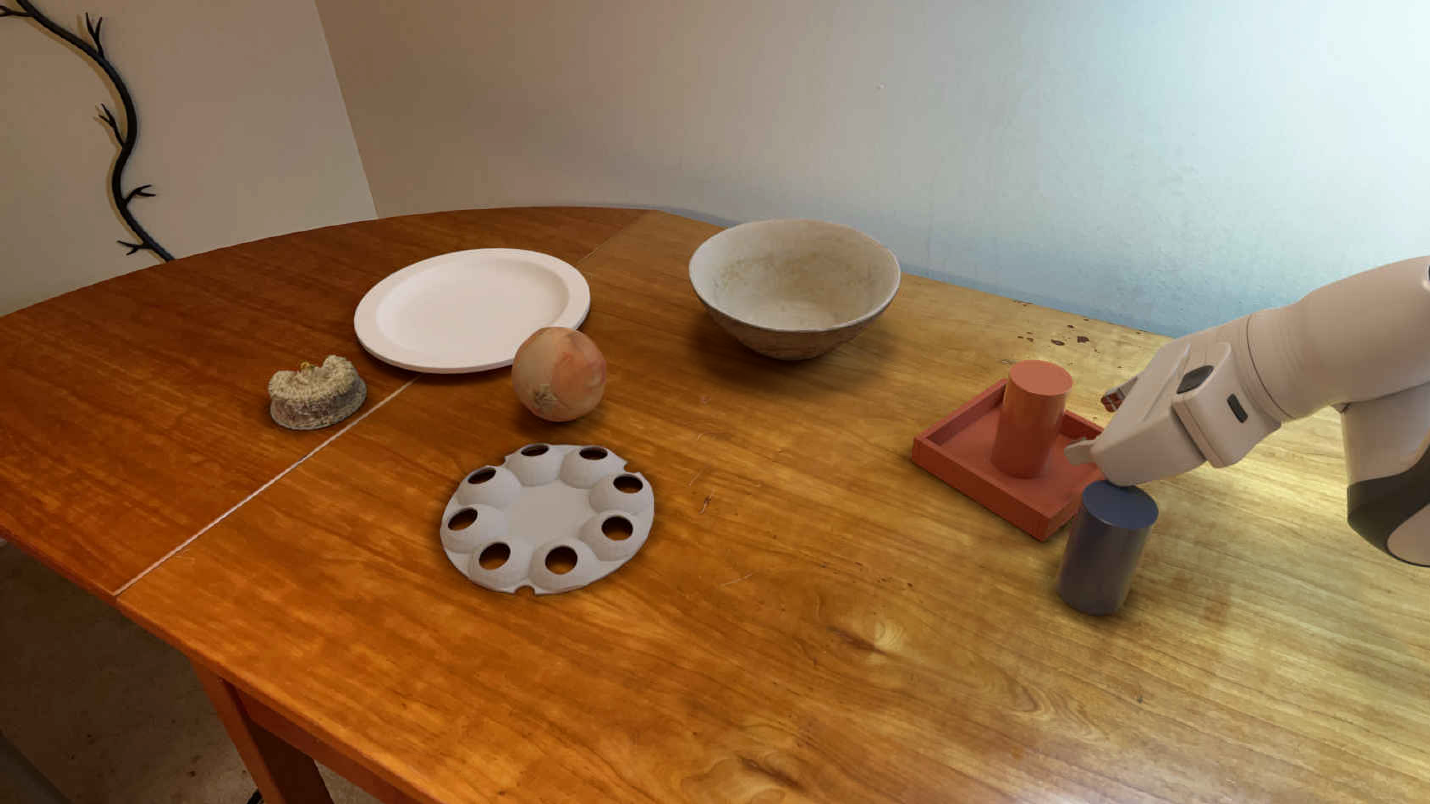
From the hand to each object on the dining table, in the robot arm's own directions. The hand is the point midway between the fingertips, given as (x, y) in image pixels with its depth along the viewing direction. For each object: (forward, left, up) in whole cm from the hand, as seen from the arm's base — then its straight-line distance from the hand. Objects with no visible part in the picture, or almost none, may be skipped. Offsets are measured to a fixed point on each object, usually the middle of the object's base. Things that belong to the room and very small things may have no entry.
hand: (1088, 427), depth 82 cm
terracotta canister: (+4, +3, -7) cm, 8 cm away
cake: (+36, +69, -7) cm, 78 cm away
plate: (+48, +51, -7) cm, 71 cm away
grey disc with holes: (+11, +48, -7) cm, 50 cm away
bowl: (+32, +16, -7) cm, 37 cm away
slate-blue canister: (-12, +6, -7) cm, 15 cm away
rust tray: (+4, +3, -7) cm, 9 cm away
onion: (+26, +44, -7) cm, 52 cm away
